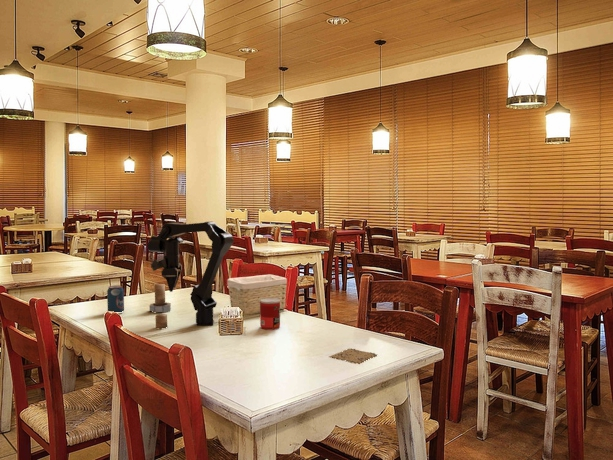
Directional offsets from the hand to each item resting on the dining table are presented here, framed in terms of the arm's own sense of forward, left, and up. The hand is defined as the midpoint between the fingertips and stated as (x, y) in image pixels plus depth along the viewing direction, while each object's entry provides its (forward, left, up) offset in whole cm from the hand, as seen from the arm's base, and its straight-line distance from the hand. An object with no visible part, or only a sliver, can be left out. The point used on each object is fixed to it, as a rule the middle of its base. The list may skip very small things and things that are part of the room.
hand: (172, 289), depth 221 cm
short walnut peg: (+3, +12, -13) cm, 18 cm away
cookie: (-65, +58, -14) cm, 88 cm away
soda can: (+27, -17, -13) cm, 35 cm away
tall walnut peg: (+8, -19, -13) cm, 24 cm away
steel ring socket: (+8, -19, -13) cm, 24 cm away
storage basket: (-36, -17, -13) cm, 42 cm away
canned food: (-40, +17, -13) cm, 45 cm away
